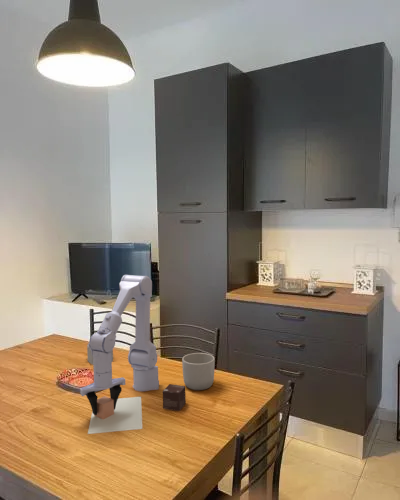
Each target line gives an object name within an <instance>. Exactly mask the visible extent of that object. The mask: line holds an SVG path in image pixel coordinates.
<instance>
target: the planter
mask: <svg viewBox="0 0 400 500" xmlns="http://www.w3.org/2000/svg"><path fill="white" fill-rule="evenodd" d="M181 360H182V361H181V362H182V363H181V365H182V378H183V383H184V386H185V387H186V388H188V389H190V390H193V391H204V390H207V389H210V388H211V386H212V385H213V383H214V379H215V361H216V360H215V356H214V355H212V354H210V353H206V352H193V353H188V354H186V355H184V356H183V357H182V359H181Z"/></svg>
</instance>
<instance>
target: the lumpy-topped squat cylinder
mask: <svg viewBox="0 0 400 500" xmlns="http://www.w3.org/2000/svg"><path fill="white" fill-rule="evenodd" d="M86 347H87V348H86V350H87V351H86V353H87V354H86V355H87V362H88V363H89V364H90V365H92V366H93V356H92V355H91V350H90V348H89V346H88V344H87V345H86ZM111 357H112V362H114V349H113V350H112V351H111Z"/></svg>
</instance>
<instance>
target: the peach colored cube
mask: <svg viewBox="0 0 400 500" xmlns="http://www.w3.org/2000/svg"><path fill="white" fill-rule="evenodd" d="M113 414H114V399H111V398H110V397H108V396H106V395H104V396H102V397H100V398H99V397H98V398H97V415H94V416H97V417H99V418H101V419H105V418H107V417H109V416H111V415H113Z"/></svg>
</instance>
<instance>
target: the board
mask: <svg viewBox="0 0 400 500" xmlns="http://www.w3.org/2000/svg"><path fill="white" fill-rule="evenodd" d="M142 410H143V409H142V396H133V397H122V398H120V397H118V399H117V403H116V408H115V409H114V414H113V415H111V416H109V417H107V418H105V419H101V418H99V417H97V416H94V414H93V412H92V411H91V416H90V420H89V426H88V431H87V435H91V434H102V433H112V432H124V431H133V430H142V429H143V413H142V412H143V411H142Z"/></svg>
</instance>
